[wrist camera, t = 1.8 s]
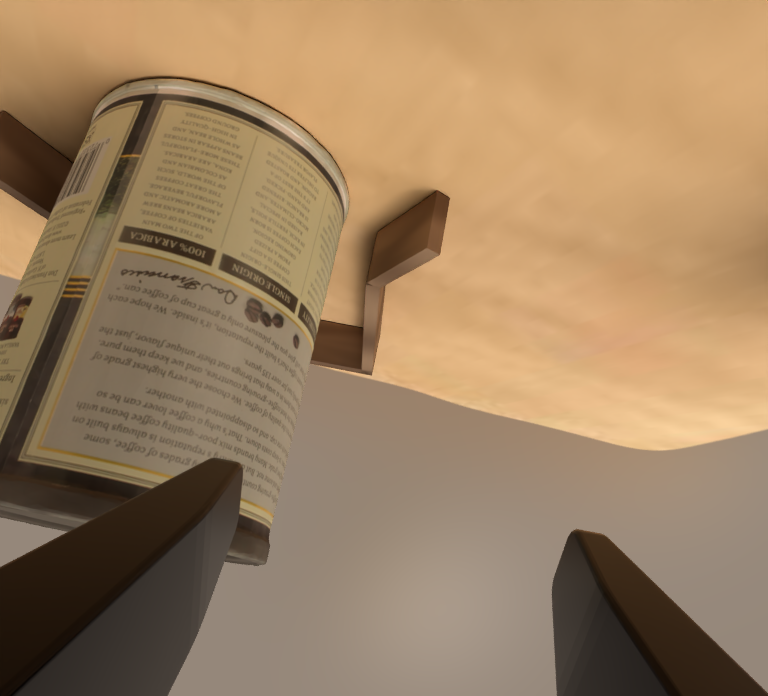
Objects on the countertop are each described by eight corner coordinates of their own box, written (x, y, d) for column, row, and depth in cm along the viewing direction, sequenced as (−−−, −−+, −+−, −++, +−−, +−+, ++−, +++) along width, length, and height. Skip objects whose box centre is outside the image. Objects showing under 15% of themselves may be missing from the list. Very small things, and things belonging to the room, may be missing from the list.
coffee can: (317, 270, 32) (241, 569, 26) (100, 197, 29) (-34, 511, 24) (390, 148, 22) (295, 569, 17) (81, 25, 20) (-145, 476, 14)
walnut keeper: (-9, 108, 24) (-38, 161, 23) (450, 193, 24) (441, 250, 23) (118, 285, 38) (103, 323, 37) (414, 342, 37) (407, 382, 36)
